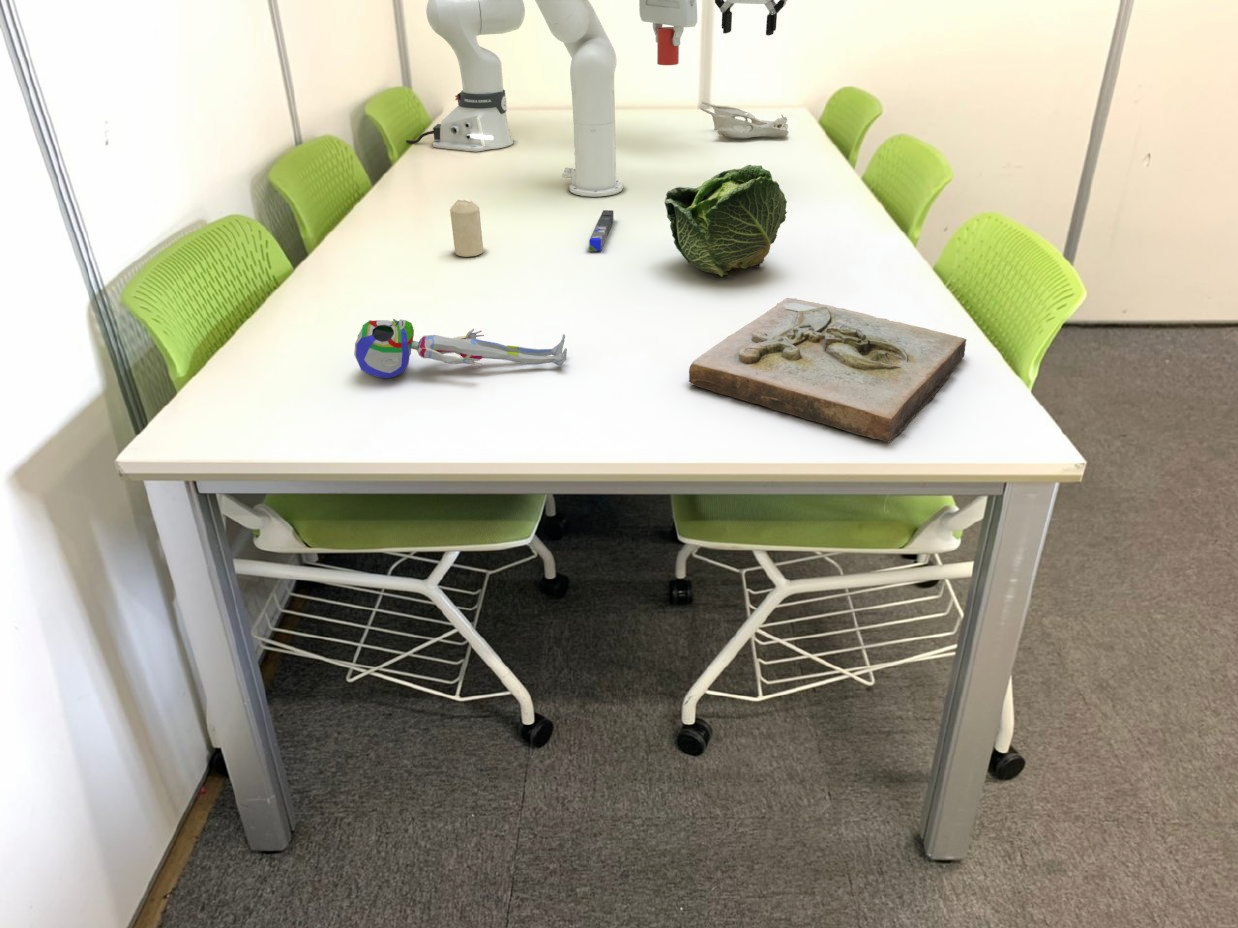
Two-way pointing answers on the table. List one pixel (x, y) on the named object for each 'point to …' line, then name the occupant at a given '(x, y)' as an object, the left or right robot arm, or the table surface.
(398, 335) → the toy
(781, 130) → the anatomical model
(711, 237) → the vegetable
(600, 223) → the pillar
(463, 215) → the candle
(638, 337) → the table surface
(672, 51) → the canister
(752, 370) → the plaque
